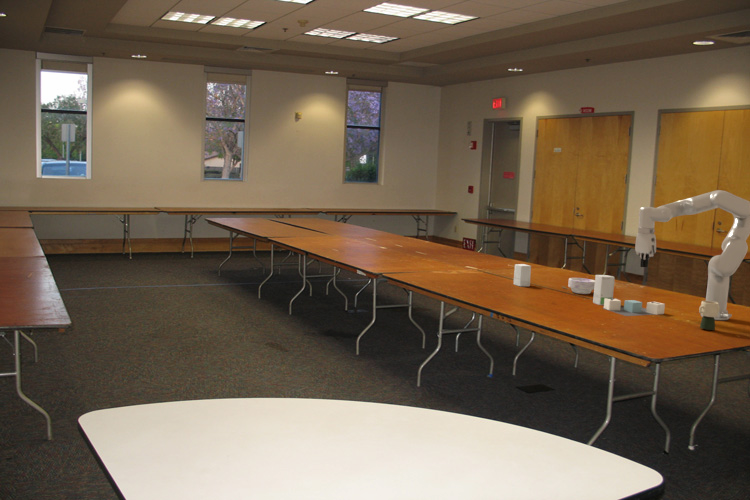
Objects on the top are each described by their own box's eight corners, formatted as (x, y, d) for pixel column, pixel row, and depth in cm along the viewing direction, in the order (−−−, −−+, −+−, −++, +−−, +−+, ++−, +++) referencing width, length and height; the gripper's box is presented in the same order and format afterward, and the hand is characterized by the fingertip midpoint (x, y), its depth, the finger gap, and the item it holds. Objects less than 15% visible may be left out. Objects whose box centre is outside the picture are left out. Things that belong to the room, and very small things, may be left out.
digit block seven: (620, 310, 337) (621, 300, 336) (609, 310, 336) (609, 300, 335) (614, 307, 343) (615, 298, 342) (603, 307, 342) (604, 297, 341)
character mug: (711, 327, 309) (714, 300, 307) (722, 331, 302) (725, 303, 300) (691, 328, 306) (694, 300, 304) (703, 332, 299) (706, 304, 297)
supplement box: (530, 286, 399) (531, 265, 397) (519, 286, 396) (521, 265, 395) (523, 284, 406) (524, 263, 404) (512, 284, 403) (514, 264, 401)
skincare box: (599, 305, 349) (601, 276, 347) (592, 303, 355) (594, 274, 353) (612, 305, 351) (615, 276, 349) (605, 302, 357) (608, 274, 355)
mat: (663, 314, 333) (664, 313, 333) (626, 316, 324) (626, 316, 324) (637, 307, 349) (638, 306, 349) (601, 308, 341) (601, 308, 341)
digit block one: (663, 313, 333) (664, 303, 333) (656, 314, 330) (657, 304, 330) (653, 311, 338) (654, 301, 338) (646, 312, 335) (647, 302, 335)
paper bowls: (591, 291, 391) (592, 278, 390) (597, 296, 376) (598, 282, 375) (565, 289, 393) (566, 276, 392) (570, 294, 378) (571, 280, 377)
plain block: (641, 312, 335) (642, 302, 334) (632, 312, 333) (633, 302, 332) (632, 309, 340) (633, 300, 340) (623, 309, 338) (624, 300, 338)
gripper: (663, 232, 328) (660, 268, 331) (640, 229, 342) (638, 264, 344) (651, 232, 326) (649, 269, 328) (629, 230, 339) (627, 265, 341)
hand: (643, 266), depth 336 cm, fingers closed
